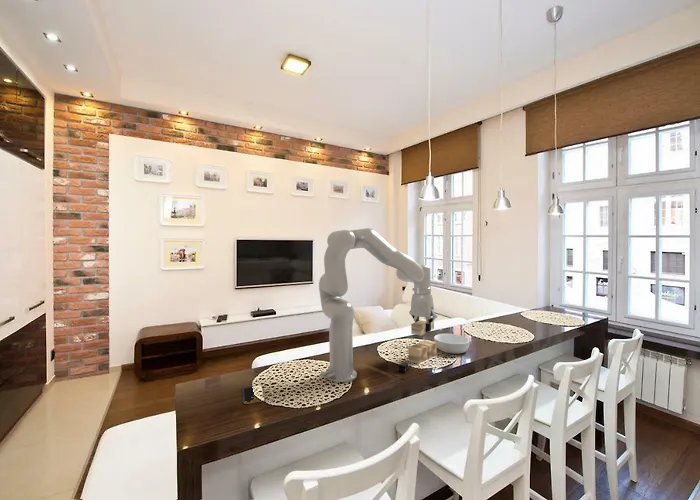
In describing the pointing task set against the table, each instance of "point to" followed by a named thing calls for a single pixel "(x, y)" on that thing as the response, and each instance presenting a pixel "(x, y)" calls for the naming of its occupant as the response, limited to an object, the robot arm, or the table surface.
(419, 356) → the pillar
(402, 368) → the small black block
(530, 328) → the table surface
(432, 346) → the pillar
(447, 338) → the cereal bowl
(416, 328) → the lintel
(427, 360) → the build board
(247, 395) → the cell phone
